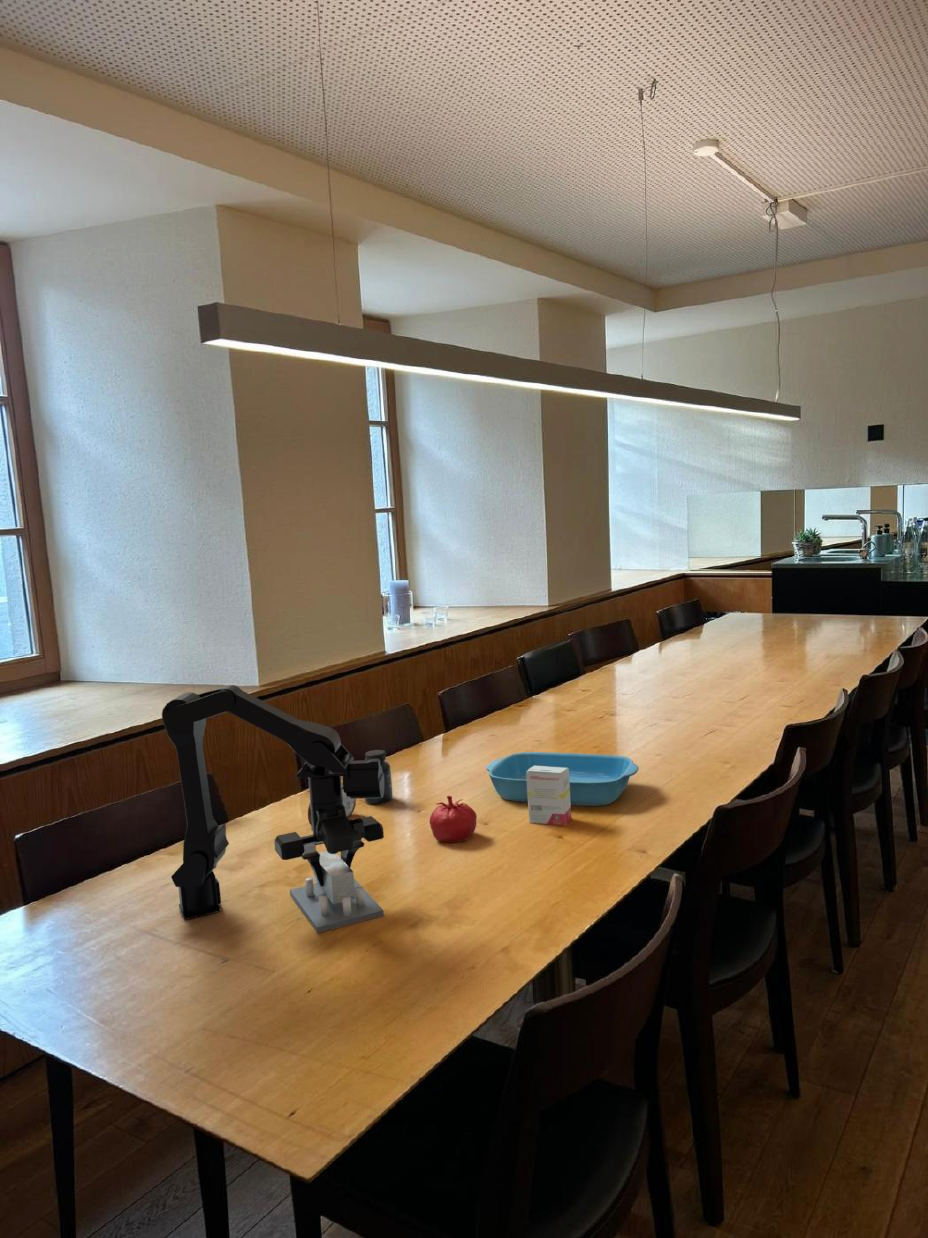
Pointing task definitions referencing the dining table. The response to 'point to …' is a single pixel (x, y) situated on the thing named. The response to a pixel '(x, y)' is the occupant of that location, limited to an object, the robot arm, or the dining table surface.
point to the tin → (347, 803)
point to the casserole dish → (588, 775)
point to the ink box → (548, 795)
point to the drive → (336, 878)
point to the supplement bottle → (387, 777)
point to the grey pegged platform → (334, 907)
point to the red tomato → (453, 821)
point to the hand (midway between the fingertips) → (333, 883)
